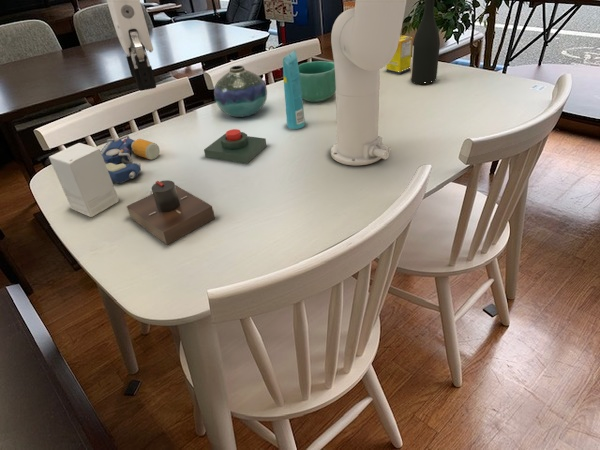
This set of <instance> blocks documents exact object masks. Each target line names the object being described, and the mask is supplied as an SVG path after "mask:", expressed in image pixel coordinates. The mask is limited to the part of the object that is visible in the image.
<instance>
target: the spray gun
mask: <svg viewBox="0 0 600 450" xmlns="http://www.w3.org/2000/svg"><path fill="white" fill-rule="evenodd" d="M100 151H101V153H102V156H103V159H104V162H105V164H106V167H107V170H108V172H109V175H110V178H111V180H112V183H116V184H122V183H124V182H127V181H130V180H133V179H135V178H137V177H138V175H139V174H140V172H141V164H140V163H139V162H137V163H136V162H134V163H133V160H132V155H131V151H132V152H133V154H134V155H135V156H139V157H142V158H144V159H148V160H151V161H152V160H156V159H157V158H158V157H159V155H160V147H159V144H157V143H155V142H153V141H149V140H145V139H142V138H138V139H136V140H135V139H132V138H131V137H130V135H128V134H126V135H123V136H121V137H115V138H108V139H106V144H105V145H104V146H103V148H102V149H100Z"/></svg>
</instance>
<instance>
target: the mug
mask: <svg viewBox="0 0 600 450" xmlns="http://www.w3.org/2000/svg"><path fill="white" fill-rule="evenodd" d="M298 67H299V75H300V83H301V92H302V100H304V101H306V102H309V103H320V102H325V101H326V100H328V99H329V98H331V97H332V96H333V95H334V94H335V93H336V83H335V67H334V61H325V60H317V61H308V62H303V63H299V64H298Z"/></svg>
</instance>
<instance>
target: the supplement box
mask: <svg viewBox="0 0 600 450" xmlns="http://www.w3.org/2000/svg"><path fill="white" fill-rule="evenodd" d="M412 48H413V37H412V36H408V35H404V34H403V35H402V34H400V39H399V43H398V47H397V50H396V52H395V54H394V56H393V58H392V60H391V61H390V62H389V63H388V64H387V65H386V72H387V73H390V74H391V73H392V74H396V75H401V74H404V73H406V72H409V71H411V63H412ZM409 67H410V68H409ZM407 68H408V69H407ZM404 69H406V70H404ZM402 70H403V71H402ZM398 71H399V72H398Z"/></svg>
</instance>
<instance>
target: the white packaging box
mask: <svg viewBox="0 0 600 450" xmlns="http://www.w3.org/2000/svg"><path fill="white" fill-rule="evenodd" d="M48 159H49V161H50V163H51V166H52V168H53V171H54V172H55V174H56V177H57V179H58V181H59V183H60V186H61V188H62V190H63V192H64V195H65V197H66V199H67V202H68V204H69V206H70V209H71V210H73V211H75V212H78V213H80V214H82V215H85V216H88V217H90V218H93V217H95V216H97V215H99V214H100V213H102V212H104V211H105V210H107V209H108V208H111V207H112V206H113V205H115V204H117V203H118V202H119V201H120V199H119V197H118V194H117V191H116V188H115V185H114V184H113V183H114V182H112V180H111V178H110V175H109V172H108V170H107V167H106V164H105V162H104V159H103V156H102V153H101V148H100V147H95V146H91V145H88V144H85V143H82V142H78V143H75V144H73V145H71V146H68V147H66V148H64V149H62V150H60V151H57V152H56V153H53V154H52V155H49V156H48Z"/></svg>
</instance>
